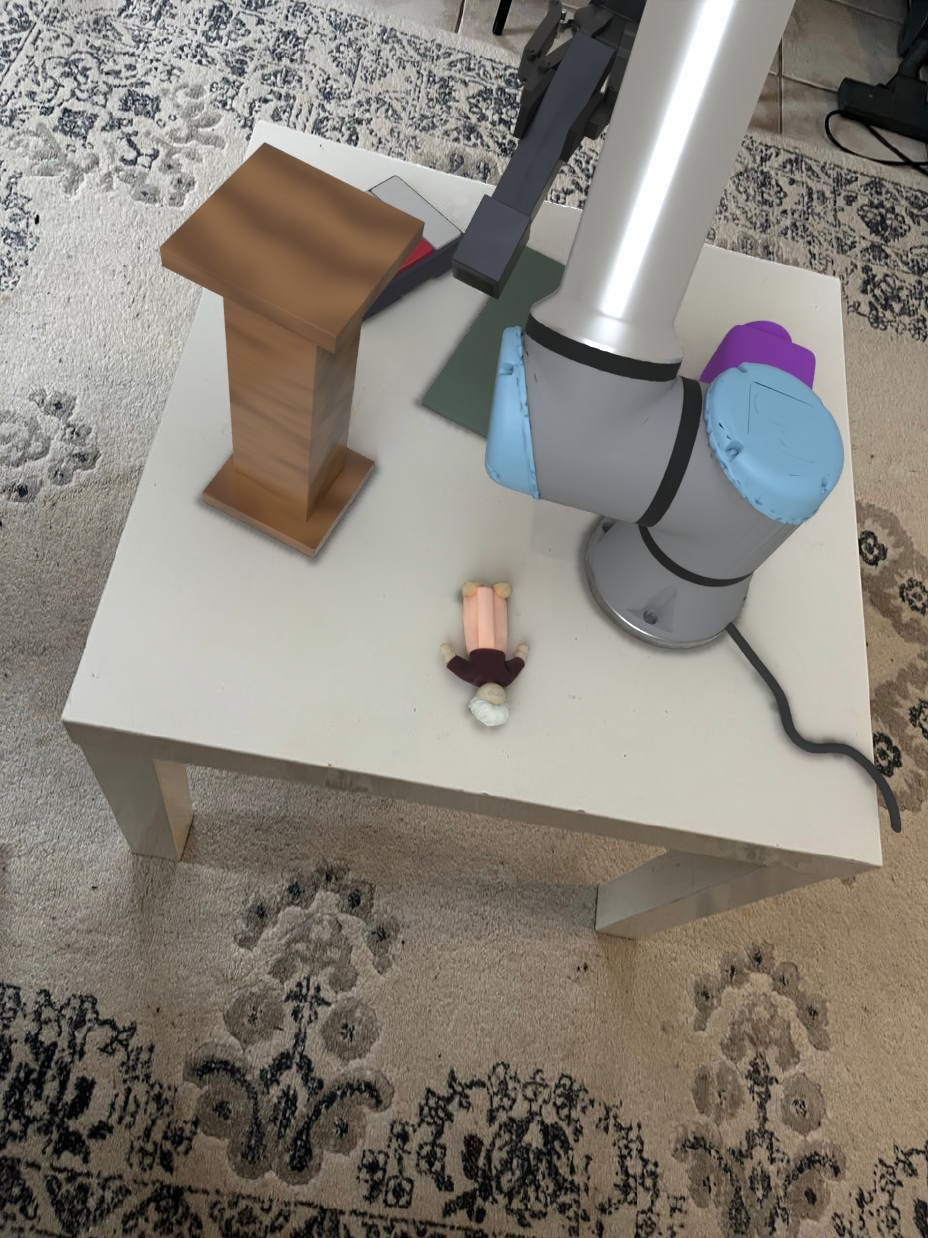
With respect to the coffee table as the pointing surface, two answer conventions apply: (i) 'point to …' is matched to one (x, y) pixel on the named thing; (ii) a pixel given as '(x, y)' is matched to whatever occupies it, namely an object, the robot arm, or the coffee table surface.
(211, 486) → the stand
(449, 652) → the grandmother figurine
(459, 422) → the mat
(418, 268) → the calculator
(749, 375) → the robot arm
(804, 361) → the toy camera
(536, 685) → the coffee table surface
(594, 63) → the black square bar
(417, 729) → the coffee table surface
